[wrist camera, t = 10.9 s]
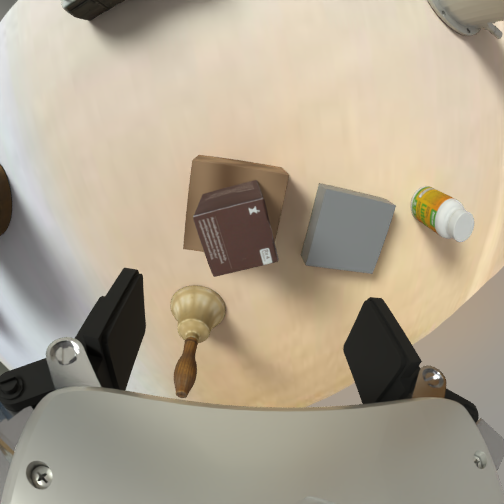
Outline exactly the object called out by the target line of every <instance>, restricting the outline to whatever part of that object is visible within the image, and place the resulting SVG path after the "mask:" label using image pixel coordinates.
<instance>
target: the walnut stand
mask: <svg viewBox="0 0 504 504" xmlns="http://www.w3.org/2000/svg"><path fill="white" fill-rule="evenodd" d="M288 178H289V174H288V173H287V172H286V171H285V170H284V169H283V168H281V167H276V166H270V165H265V164H259V163H253V162H246V161H240V160H233V159H226V158H219V157H211V156H203V155H198V156H197V157H196V158H195V159H193V160H192V167H191V175H190V184H189V193H188V202H187V212H186V223H185V234H184V247H183V249H187V250H195V251H202V252H204V250H203V247H202V244H201V241H200V238H199V235H198V232H197V229H196V226H195V223H194V220H193V216H194V214H195V211H196V209H197V207H198V204H199V201H200V199H201V197H202V194H205V193H208V192H212V191H215V190H219V189H223V188H226V187H230V186H234V185H238V184H241V183H245V182H249V181H253V180H257V181H258V183H259V186H260V188H261V191H262V194H263V197H264V200H265V204H266V208H267V212H268V216H269V221H270V225H271V229H272V233H273V238H274V242H275V238H276V234H277V229H278V225H279V220H280V215H281V211H282V206H283V202H284V197H285V192H286V188H287V183H288Z"/></svg>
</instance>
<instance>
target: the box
mask: <svg viewBox="0 0 504 504" xmlns="http://www.w3.org/2000/svg"><path fill="white" fill-rule="evenodd" d="M193 220H194V223H195V226H196V229H197V232H198V235H199V238H200V241H201V244H202V247H203V250H204V252H205V255H206V258H207V261H208V264H209V267H210V269H211V272H212V274H213V276H214V277H215V276H220V275H224V274H228V273H232V272H236V271H240V270H245V269H249V268H253V267H257V266H262V265H266V264H270V263H274V262H278V255H277V251H276V247H275V242H274V238H273V233H272V229H271V225H270V221H269V216H268V212H267V208H266V204H265V200H264V197H263V194H262V191H261V188H260V186H259V183H258V181H257V180H253V181H249V182H245V183H241V184H238V185H234V186H230V187H226V188H223V189H219V190H215V191H212V192H208V193H205V194H202V197H201V199H200V201H199V204H198V207H197V209H196V211H195V214H194V216H193Z"/></svg>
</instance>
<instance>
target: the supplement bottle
mask: <svg viewBox="0 0 504 504" xmlns="http://www.w3.org/2000/svg"><path fill="white" fill-rule="evenodd" d="M411 211H412V214H413V216H414V217H415V218H416V219H417V220H418V221H420V222H421V223H423V224H424V225H426V226H427V227H429V228H430V229H431V230H433V231H434V232H436V233H437V234H438V235H440V236H441V237H443V238H446V239H450V238H453V239H455V240H456V241H458V242H463V241H465V240H467V239H468V238H469V237H470V235H471V233H472V231H473V228H474V218H473V216H472V214H471V213H469V212H468V211H466V210H465V209H464V207H463V205H462V204H461V202H459V201H458V200H456V199H454V198H452V197H450V196H448V195H446V194H444V193H442V192H440V191H438V190H436V189H434V188H432V187H429V186H424V187H421V188H419V189H418V190H417V191H416V192H415V194H414V195H413V197H412V200H411Z"/></svg>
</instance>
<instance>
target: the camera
mask: <svg viewBox="0 0 504 504" xmlns="http://www.w3.org/2000/svg"><path fill="white" fill-rule="evenodd" d="M123 1H125V0H61V5H62V7H63V8H64V10H66V11H67V12H68V13H69V14H71V15H72V16H74V17H77V18H80V19H84V20H92V19H93V18H95V17H96V16H98V15H99V14H101V13H103V12H105V11H107V10H109V9H110V8H111V7H113V6H115V5H117V4H119V3H121V2H123Z"/></svg>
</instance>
